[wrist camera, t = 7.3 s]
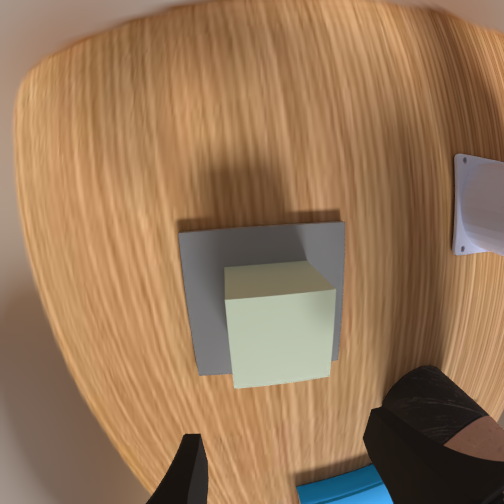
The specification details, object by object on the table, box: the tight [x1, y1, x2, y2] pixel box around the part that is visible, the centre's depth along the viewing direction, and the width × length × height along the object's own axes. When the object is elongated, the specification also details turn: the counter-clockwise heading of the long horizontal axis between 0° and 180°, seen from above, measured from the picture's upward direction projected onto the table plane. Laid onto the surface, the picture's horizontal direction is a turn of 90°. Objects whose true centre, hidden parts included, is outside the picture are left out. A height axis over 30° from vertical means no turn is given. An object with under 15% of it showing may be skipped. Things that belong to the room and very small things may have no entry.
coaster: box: [178, 221, 345, 376], centre depth 19 cm, size 10×10×1 cm
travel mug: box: [382, 366, 504, 500], centre depth 13 cm, size 8×8×20 cm
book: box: [296, 464, 393, 504], centre depth 26 cm, size 17×4×25 cm
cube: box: [224, 261, 336, 389], centre depth 16 cm, size 5×5×5 cm
